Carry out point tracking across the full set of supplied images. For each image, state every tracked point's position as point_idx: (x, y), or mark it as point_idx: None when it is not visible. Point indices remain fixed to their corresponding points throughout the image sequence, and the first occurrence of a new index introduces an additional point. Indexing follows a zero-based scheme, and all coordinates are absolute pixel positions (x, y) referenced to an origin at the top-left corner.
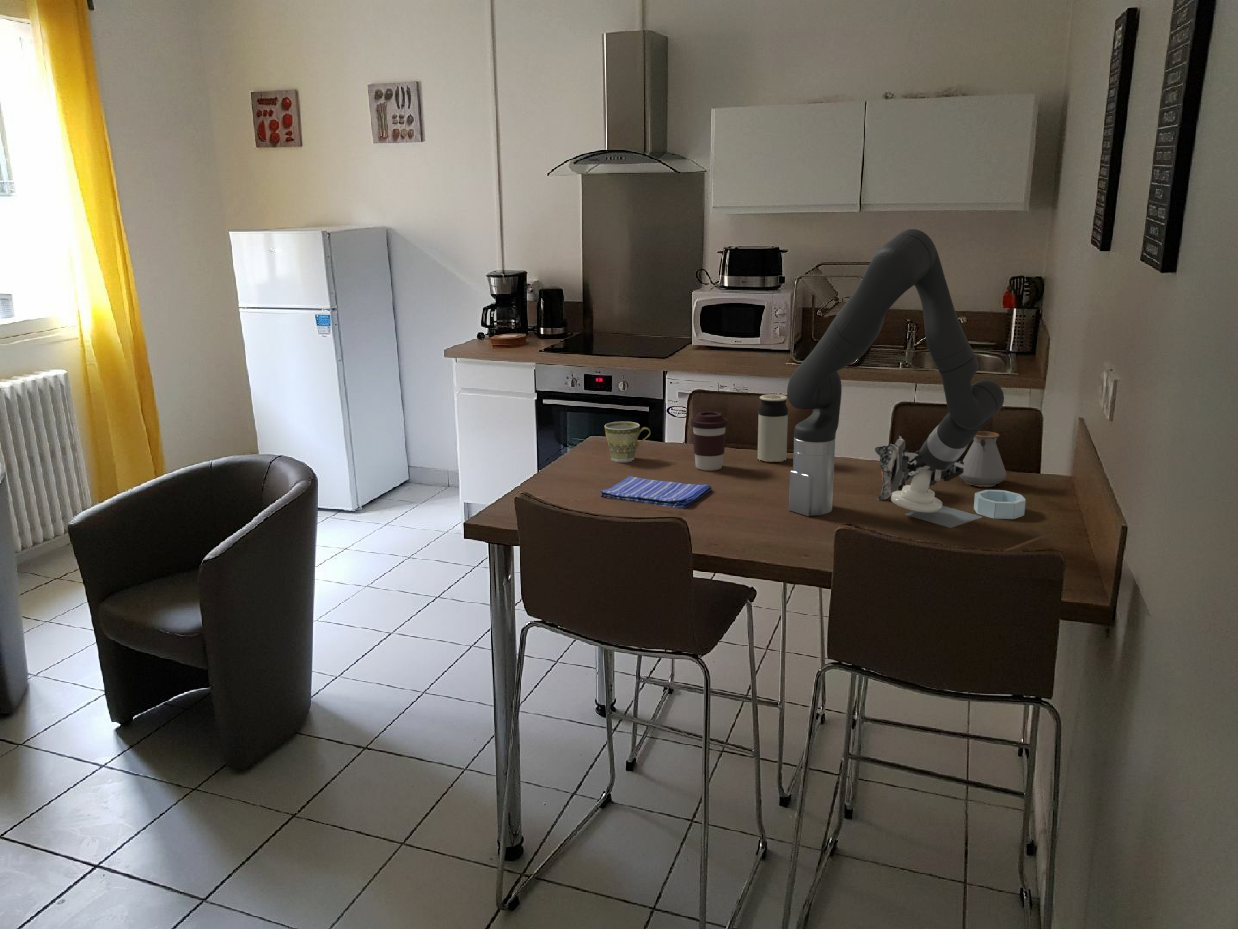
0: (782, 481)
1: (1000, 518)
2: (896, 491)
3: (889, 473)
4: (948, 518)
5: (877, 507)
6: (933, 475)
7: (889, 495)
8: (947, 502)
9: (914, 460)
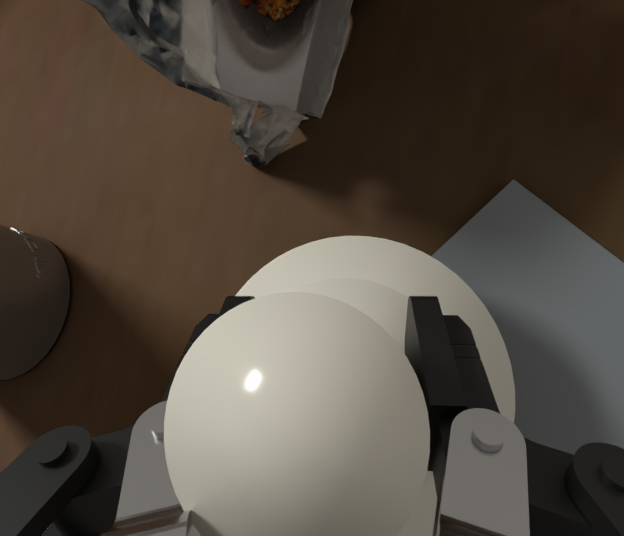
0: (19, 15)
1: None
2: (248, 286)
3: (216, 100)
4: (543, 432)
5: (234, 245)
6: (433, 441)
7: (285, 146)
8: (580, 116)
9: (111, 531)
